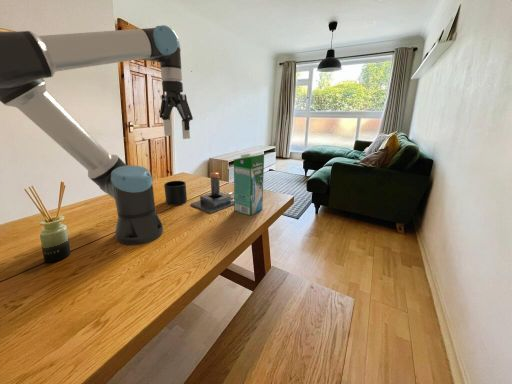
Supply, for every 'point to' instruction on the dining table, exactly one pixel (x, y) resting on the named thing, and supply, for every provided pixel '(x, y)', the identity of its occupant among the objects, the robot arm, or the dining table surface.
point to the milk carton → (248, 183)
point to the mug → (175, 192)
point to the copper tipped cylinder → (215, 185)
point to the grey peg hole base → (214, 202)
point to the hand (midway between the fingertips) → (176, 137)
